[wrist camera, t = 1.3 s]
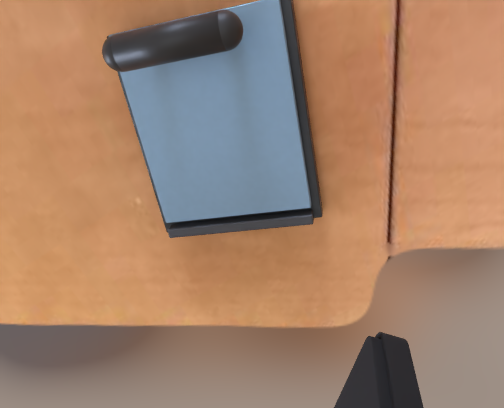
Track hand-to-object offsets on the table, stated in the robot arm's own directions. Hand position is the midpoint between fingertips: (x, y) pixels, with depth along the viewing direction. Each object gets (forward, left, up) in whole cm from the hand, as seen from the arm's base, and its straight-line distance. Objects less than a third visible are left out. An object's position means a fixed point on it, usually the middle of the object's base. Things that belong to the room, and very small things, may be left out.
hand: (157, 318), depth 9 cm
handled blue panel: (+2, -1, -15) cm, 15 cm away
